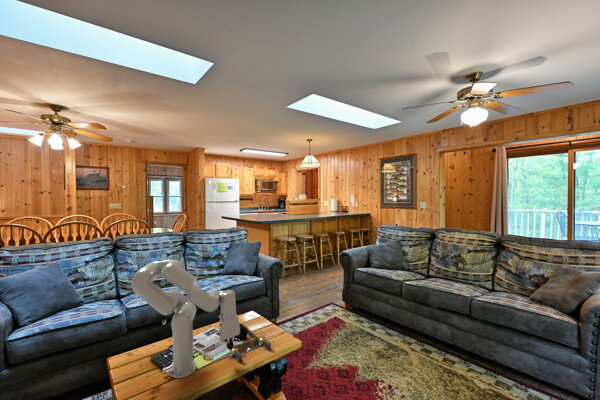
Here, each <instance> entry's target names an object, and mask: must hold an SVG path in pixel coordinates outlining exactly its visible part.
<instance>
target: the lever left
mask: <svg viewBox="0 0 600 400" xmlns="http://www.w3.org/2000/svg"><path fill="white" fill-rule="evenodd" d="M239 351H240V350H238V347H233V349H231V350H229V355H230V356H234V358H235V359H236V360H237V361H238V363H242V362H243V354H240V352H239Z"/></svg>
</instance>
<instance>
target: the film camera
mask: <svg viewBox="0 0 600 400" xmlns="http://www.w3.org/2000/svg"><path fill="white" fill-rule="evenodd" d="M239 325H240V334H239V335H238V336H236V337H235V338H237V339H240V340H239V341H247V339H248V334H247V330H248V329H249V328H248V327H247V326H246V327H247V328H248V329H247V328H246V327H244V326H242V323H241V322H239Z"/></svg>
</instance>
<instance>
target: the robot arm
mask: <svg viewBox="0 0 600 400" xmlns="http://www.w3.org/2000/svg"><path fill="white" fill-rule="evenodd" d="M157 278H163V279H164V280H165V281H167V282H169V283H170V284H172V285H173V286H174V287H176V288H178V289H179V290H181V291H183V292H184V293H185V295H186V296H185V295H184V294H183V293H182V292H180V291H179V290H175V289H169V290H167V291H165V290H164V289H163V288H161V286H159V285H156V284H154V283H153V281H154V280H155V279H157ZM130 285H131V289H132V291H133V293H134V295H135V294H136V295H137V296H138V297H139V298H141V299H142V300H143V301H145V302H146V303H147V304H148V305H149V306H150V307H152V308H153V309H154V310H155V311H157V312H158V313H159V314H161V315H163V316H168V315H171V314H172V313H173V312H174V314H173V316H172V319H171V324H170V325H171V330H172V362H171V364H170V365H169V366H166V367H163V368H162V373H163V374H164V373H166V374H169V375H170V377H172V378H174V379H182V378H186V377H189V376H190V375H192V374H194V372H195V371H196V370H197V362H196V361H194V329H193V321H194V318H195V317H196V313H197V307H199V308H200V309H201V310H203V311H204V312H208V313H212V312H215V311H216V310H217V309H218V308H219V306H220V314H219V315H218V318H219V324H218V326H219V327H218V334H219V342H225V343H226V342H227V344H226V349H228V350H229V351H230V350H231V349H233V344H234V341H235V340H234V339H235V337H236V336H238V335H239V334H240V325H239V323H240V321H239V316H238V314H237V308H236V307H237V306H236V293H235V291H234V290H232V289H226V290H210V291H209V292H206V291H205V290H204V289H203V288H202V287H201V286H200V283H199V281H198V279H197V277H196V276H195V275H193V274H191V273H190V272H189V271H187V270H185V268H184V264H183V262H182V261H181V260H179V259H167V260H162V261H161V260H160V261H153V262H149V263H147V264H145V265H144V266H143V267H141V268H140V269H138V270H137V271H136V272H135V273H134V274H133V276H132V278H131V284H130ZM196 306H197V307H196ZM229 338H230V340H229Z"/></svg>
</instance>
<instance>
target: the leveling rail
mask: <svg viewBox="0 0 600 400" xmlns="http://www.w3.org/2000/svg"><path fill="white" fill-rule="evenodd" d="M262 347H264V346H263V345H259V343H256V344H253V345H250V346H248V347H245V348H243V349H240V350H238V351H239V352H240V354H242V355H244V354H246V353H249V352H251V351H255V350H257V349H259V348H262ZM227 358H228V359H229V360H232V359H234V358H235V357H234V356H230V354H228V355H227Z"/></svg>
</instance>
